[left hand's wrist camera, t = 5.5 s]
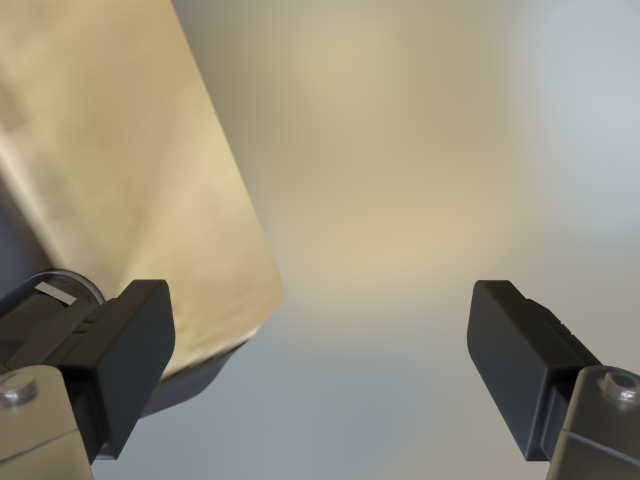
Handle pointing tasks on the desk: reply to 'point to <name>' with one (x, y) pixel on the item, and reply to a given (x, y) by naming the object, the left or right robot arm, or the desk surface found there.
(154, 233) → the desk surface
